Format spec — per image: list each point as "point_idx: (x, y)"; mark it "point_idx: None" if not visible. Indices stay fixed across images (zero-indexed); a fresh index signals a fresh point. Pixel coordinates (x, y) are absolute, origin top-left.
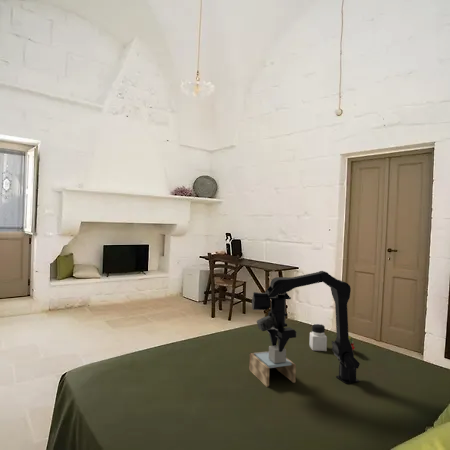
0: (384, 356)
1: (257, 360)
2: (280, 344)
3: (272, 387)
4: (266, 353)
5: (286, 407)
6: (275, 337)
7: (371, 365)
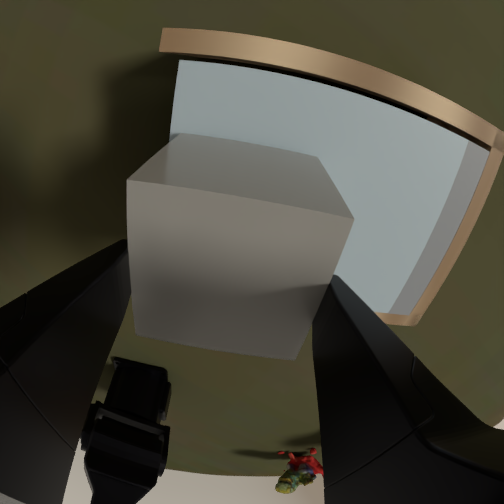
0: (233, 466)
1: (382, 70)
2: (31, 305)
3: (176, 70)
4: (424, 232)
5: (10, 51)
6: (340, 419)
7: (205, 442)
